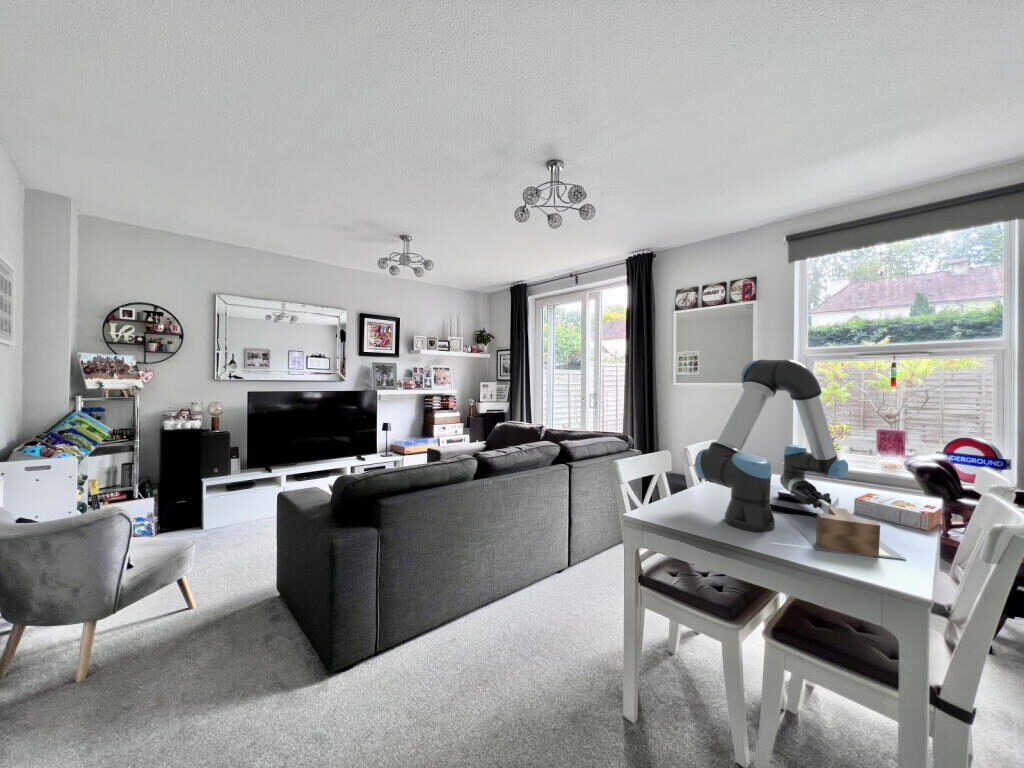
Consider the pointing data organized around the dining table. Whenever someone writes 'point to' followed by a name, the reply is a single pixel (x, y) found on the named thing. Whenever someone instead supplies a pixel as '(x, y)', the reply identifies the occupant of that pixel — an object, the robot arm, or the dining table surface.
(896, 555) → the mat
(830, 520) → the t block
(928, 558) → the dining table surface
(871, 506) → the cracker box
